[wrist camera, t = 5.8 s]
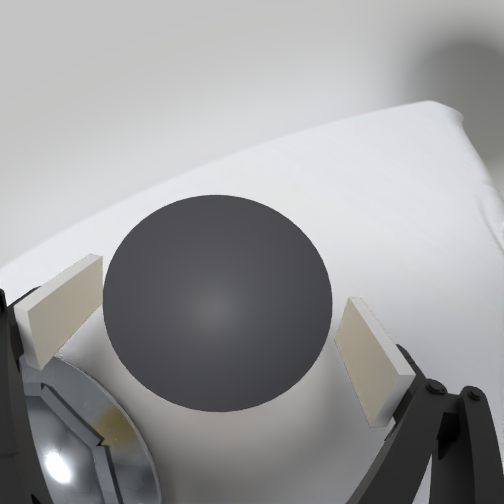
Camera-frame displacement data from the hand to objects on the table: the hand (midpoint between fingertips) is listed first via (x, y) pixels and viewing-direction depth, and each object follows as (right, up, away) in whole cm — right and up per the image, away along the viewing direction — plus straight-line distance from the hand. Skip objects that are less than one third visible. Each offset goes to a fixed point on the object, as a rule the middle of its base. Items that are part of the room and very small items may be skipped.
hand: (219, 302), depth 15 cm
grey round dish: (-12, -12, -2) cm, 17 cm away
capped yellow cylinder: (-1, -4, +4) cm, 5 cm away
